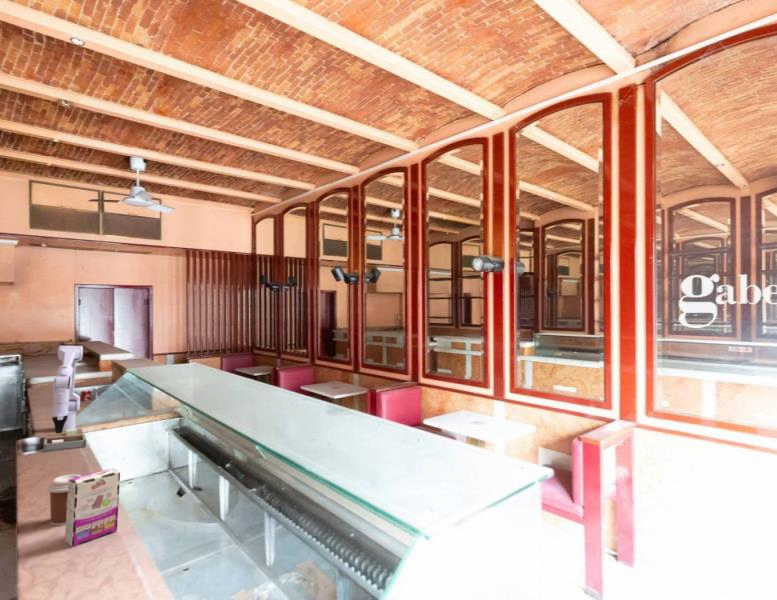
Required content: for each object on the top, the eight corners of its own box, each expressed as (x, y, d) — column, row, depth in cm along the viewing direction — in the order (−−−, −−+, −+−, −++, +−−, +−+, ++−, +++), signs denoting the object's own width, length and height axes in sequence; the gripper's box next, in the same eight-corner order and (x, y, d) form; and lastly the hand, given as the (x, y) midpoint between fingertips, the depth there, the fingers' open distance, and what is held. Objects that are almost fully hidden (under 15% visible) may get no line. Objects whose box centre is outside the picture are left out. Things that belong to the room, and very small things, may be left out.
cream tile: (52, 442, 194) (51, 447, 194) (63, 441, 197) (62, 445, 197) (52, 440, 198) (51, 444, 198) (63, 439, 200) (62, 443, 200)
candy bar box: (108, 526, 125) (112, 467, 126) (117, 531, 122) (121, 471, 123) (62, 542, 115) (67, 478, 116) (71, 548, 113) (76, 482, 114)
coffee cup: (42, 519, 128) (46, 477, 128) (80, 511, 134) (83, 470, 135) (46, 531, 121) (50, 486, 122) (86, 521, 127) (89, 479, 128)
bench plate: (45, 437, 210) (46, 432, 210) (81, 434, 218) (81, 429, 219) (45, 444, 199) (45, 439, 199) (82, 440, 207) (83, 435, 208)
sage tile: (65, 434, 209) (66, 429, 209) (76, 433, 211) (76, 428, 211) (66, 435, 206) (66, 431, 206) (76, 434, 208) (76, 430, 208)
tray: (43, 445, 198) (44, 438, 198) (84, 440, 207) (84, 434, 208) (43, 451, 189) (43, 444, 189) (85, 447, 198) (86, 440, 198)
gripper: (50, 400, 204) (47, 430, 204) (49, 406, 193) (47, 437, 192) (68, 399, 209) (66, 428, 208) (69, 404, 197) (67, 435, 196)
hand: (58, 432), depth 200 cm, fingers closed
